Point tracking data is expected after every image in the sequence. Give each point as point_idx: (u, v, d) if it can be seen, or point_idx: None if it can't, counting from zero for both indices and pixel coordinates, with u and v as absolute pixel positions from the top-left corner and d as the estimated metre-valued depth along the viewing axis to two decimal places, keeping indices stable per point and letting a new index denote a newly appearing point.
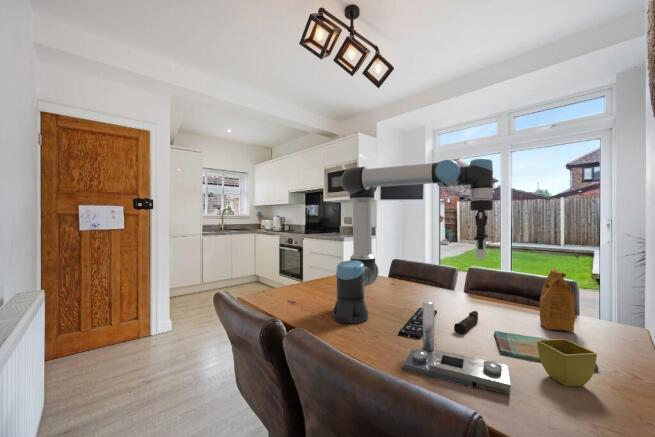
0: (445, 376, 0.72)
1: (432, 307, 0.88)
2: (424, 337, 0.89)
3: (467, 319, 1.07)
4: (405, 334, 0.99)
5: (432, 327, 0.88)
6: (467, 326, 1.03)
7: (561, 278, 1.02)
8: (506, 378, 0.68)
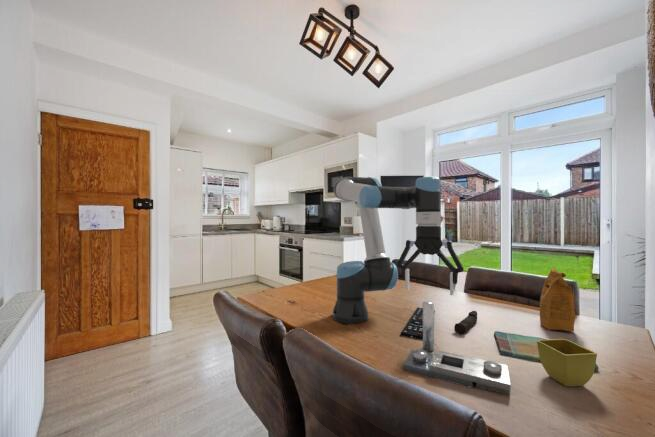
0: (445, 376, 0.72)
1: (432, 307, 0.88)
2: (424, 337, 0.89)
3: (467, 319, 1.07)
4: (408, 335, 0.99)
5: (432, 327, 0.88)
6: (467, 326, 1.03)
7: (561, 278, 1.02)
8: (506, 378, 0.68)
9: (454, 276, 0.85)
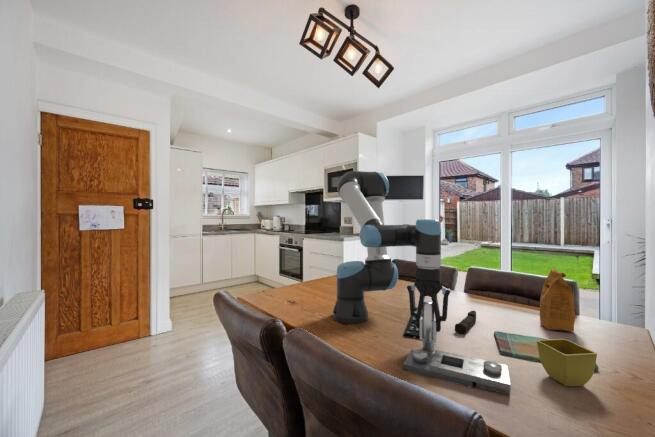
0: (445, 376, 0.72)
1: (432, 307, 0.88)
2: (424, 337, 0.89)
3: (467, 319, 1.07)
4: (410, 335, 0.98)
5: (432, 327, 0.88)
6: (467, 326, 1.03)
7: (561, 278, 1.02)
8: (506, 378, 0.68)
9: (437, 324, 0.88)
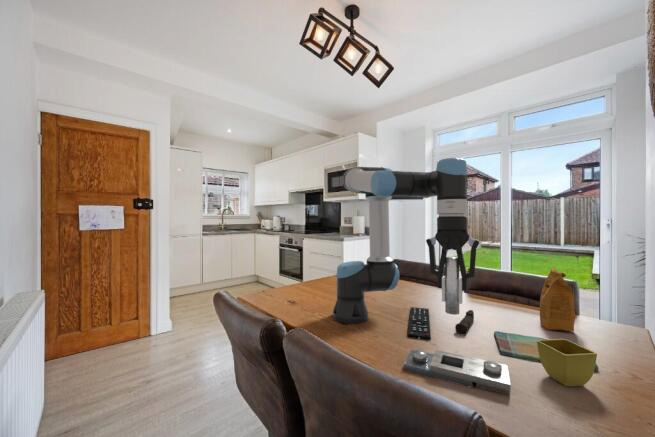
0: (445, 376, 0.72)
1: (457, 262, 0.74)
2: (447, 298, 0.75)
3: (466, 319, 1.07)
4: (415, 336, 0.98)
5: (457, 285, 0.74)
6: (467, 326, 1.03)
7: (561, 278, 1.02)
8: (506, 378, 0.68)
9: (463, 282, 0.74)
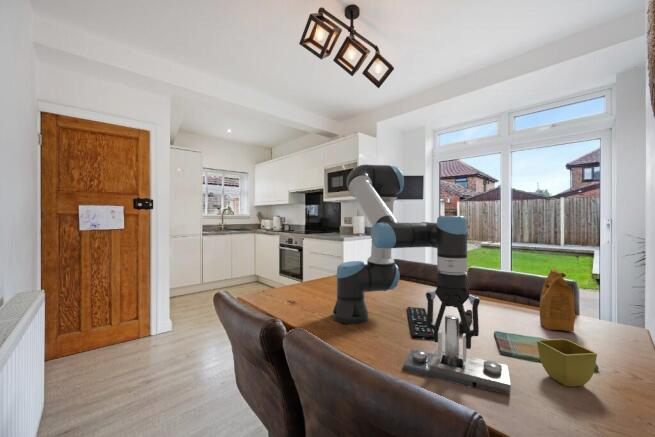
0: (445, 376, 0.72)
1: (457, 323, 0.74)
2: (447, 358, 0.75)
3: None
4: (419, 337, 0.97)
5: (457, 347, 0.74)
6: None
7: (561, 278, 1.02)
8: (506, 378, 0.68)
9: (467, 340, 0.73)
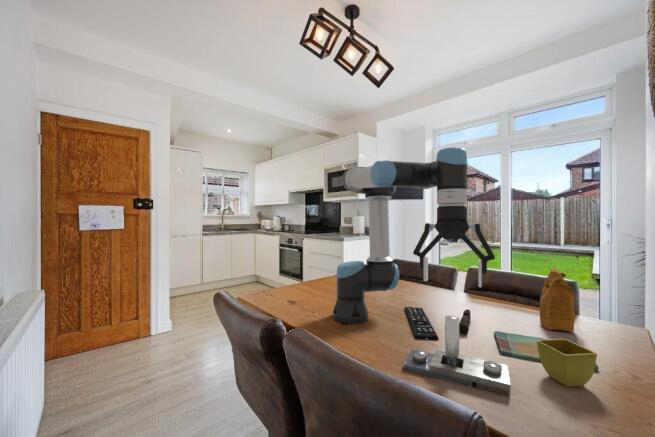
0: (445, 376, 0.72)
1: (457, 323, 0.74)
2: (447, 358, 0.75)
3: (465, 318, 1.07)
4: (423, 337, 0.97)
5: (457, 347, 0.74)
6: (468, 326, 1.03)
7: (561, 278, 1.02)
8: (506, 378, 0.68)
9: (483, 265, 0.72)
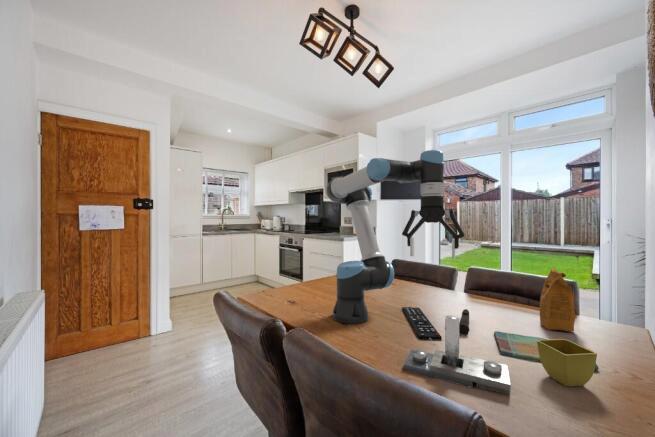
0: (445, 376, 0.72)
1: (457, 323, 0.74)
2: (447, 358, 0.75)
3: (464, 318, 1.07)
4: (426, 337, 0.97)
5: (457, 347, 0.74)
6: (468, 326, 1.03)
7: (561, 278, 1.02)
8: (506, 378, 0.68)
9: (456, 241, 0.92)
